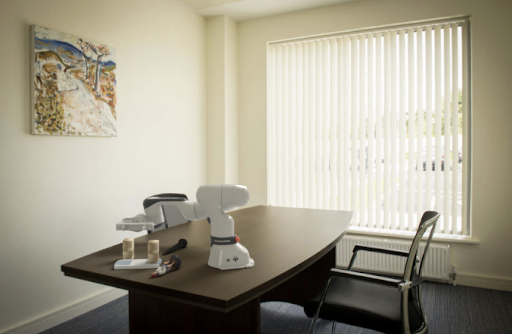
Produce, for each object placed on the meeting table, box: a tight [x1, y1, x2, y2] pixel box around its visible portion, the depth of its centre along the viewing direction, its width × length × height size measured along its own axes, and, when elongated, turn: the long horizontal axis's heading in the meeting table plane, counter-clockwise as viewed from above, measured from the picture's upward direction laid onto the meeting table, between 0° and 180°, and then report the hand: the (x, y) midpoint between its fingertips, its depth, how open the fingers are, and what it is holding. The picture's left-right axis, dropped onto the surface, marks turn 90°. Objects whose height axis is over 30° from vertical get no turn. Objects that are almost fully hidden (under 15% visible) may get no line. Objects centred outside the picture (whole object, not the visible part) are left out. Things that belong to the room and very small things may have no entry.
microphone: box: [161, 238, 189, 256], centre depth 204 cm, size 6×6×20 cm
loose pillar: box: [122, 237, 135, 260], centre depth 188 cm, size 4×4×10 cm
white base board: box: [113, 258, 163, 270], centre depth 178 cm, size 21×10×2 cm, turn 97°
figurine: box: [150, 254, 183, 278], centre depth 169 cm, size 8×7×18 cm
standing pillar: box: [147, 239, 160, 263], centre depth 179 cm, size 4×4×10 cm
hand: (132, 229), depth 200 cm, fingers open, 8 cm apart
